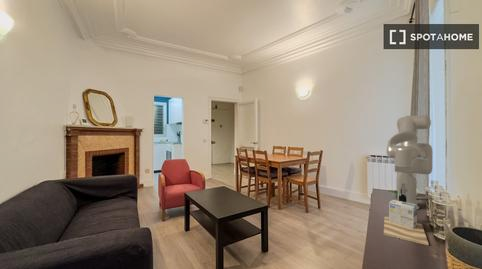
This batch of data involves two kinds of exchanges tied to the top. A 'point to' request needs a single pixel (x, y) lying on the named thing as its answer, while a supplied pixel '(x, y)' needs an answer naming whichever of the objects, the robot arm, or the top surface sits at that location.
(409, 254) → the top surface
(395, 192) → the figurine
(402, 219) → the light bulb box
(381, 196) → the top surface
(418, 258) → the top surface
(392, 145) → the robot arm
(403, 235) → the oak board
